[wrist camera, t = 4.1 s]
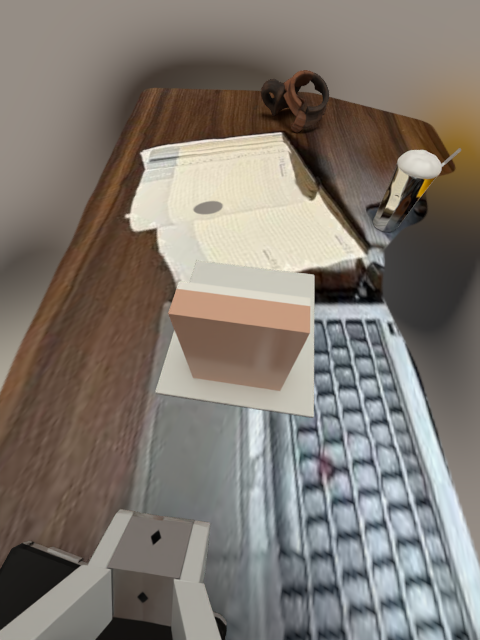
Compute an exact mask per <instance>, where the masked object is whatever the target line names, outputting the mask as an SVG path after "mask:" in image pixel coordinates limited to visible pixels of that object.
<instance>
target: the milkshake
mask: <svg viewBox="0 0 480 640" xmlns="http://www.w3.org/2000/svg"><path fill="white" fill-rule="evenodd" d="M460 151H461V149H458V150H457V151H456V152H455V153H454V154H452V155H451V156H450V157H449V158H448V159H447V160H446V161H444V162H443V163H442V164H441V163H440V161H439V160H438V158H437V157H436V156H435V155H433V154H431V153H429V152H427V151H425V150H410V151H408V152H406V153H404V154H403V155H402V156H401V157H400V158H399V159H398V161H397V164H396V166H395V169H394V171H393V174H392V176H391V179H390V181H389V184H388V187H387V190H386V192H385V194H384V197H383V199H382V201H381V203H380V206H379V208H378V210H377V212H376V215H375V217H374V220H373V224H374V226H375V228H377V229H379V230H381V231H384V232H392V231H394V230H396V229H397V228H398V226H399V225H400V224H401V222H402V221H403V220H404V218H405V217H406V216H407V214H408V213H409V212H410V210H411V209H412V208H413V206H414V205H415V204H416V203H417V201H418V200H419V199H420V197H421V196H422V195H423V193H424V192H425V191H426V190H427V188H428V187H429V186H430V184H431V183H432V182H433V181H434V180H435V178H436V177H437V176H438V175H439V174H440V172H441V167H443V166H444V165H445V164H446V163H447V162H448V161H450V160H451V159H452V158H453V157H454V156H455V155H456V154H458V153H459V152H460Z"/></svg>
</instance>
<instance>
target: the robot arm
mask: <svg viewBox="0 0 480 640" xmlns="http://www.w3.org/2000/svg"><path fill="white" fill-rule="evenodd" d="M209 535H210V523H209V522H202V521H195V520H191V519H183V518H176V517H168V516H165V517H162V516H157V515H151V514H146V513H140V512H135V511H128V510H122V509H120V510H119V511H118V512H117V513H116V514H115V516H114V518H113V520H112V521H111V523H110V525H109V527H108V529H107V530H106V532H105V534H104V536H103V538H102V539H101V541H100V543H99V545H98V547H97V548H96V550H95V552H94V554H93V556H92V557H91V559H90V561H89V563H88V565H81V566H80V567H79V568H77V569H76V570H75V571H74V572H72V573H71V574H70V575H69V576H67V577H66V578H65V579H64V580H62V581H61V582H60V583H59V584H58V585H56V586H55V587H54V588H53V589H51V590H50V591H49V592H48V593H46V594H45V595H44V596H43V597H41V598H40V599H39V600H38V601H36V602H35V603H34V604H33V605H31V606H30V607H29V608H28V609H26V610H25V611H24V612H23V613H21V614H20V615H19V616H18V617H17V618H15V619H14V620H13V621H12V622H10V623H9V624H8V625H7V626H5V627H4V628H3V629H2V630H0V640H95V639H96V638H97V637H98V636H99V635H100V633H101V632H102V631H103V630H104V629H105V627H106V626H107V625H108V624H109V623H110V622H111V620H112V617H117V618H125V619H133V620H141V621H147V622H152V623H156V624H161V625H166V626H171V630H172V636H173V640H221V637H220V633H219V630H218V627H217V624H216V620H215V617H214V614H213V611H212V607H211V604H210V601H209V598H208V594H207V591H206V588H205V584H203V582H204V576H205V570H206V562H207V554H208V545H209Z"/></svg>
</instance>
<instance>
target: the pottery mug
mask: <svg viewBox="0 0 480 640" xmlns="http://www.w3.org/2000/svg"><path fill="white" fill-rule="evenodd" d="M309 81H311V82H313V83H314V85H315V90H317V91H319V92H320V93H322V96H323V102H322V104H320V105H319V106H316V107H310V106H308V107H307V110H306V112H303V111H301V107H302V105H303V103H304V101H305V100H304V99H302V98H300V97H299V96H298V95H297V92H298V91H299V89H300V88H301V86H304V85H307V84H308V83H309ZM269 92H271V93H273V94H274V97H275V98H271V96H270V94H269ZM261 95H262V99H263V102H264V103H265V105H266V106H267V107H268V108H269V109H270V110H271V113H272V115H273V116H275V114H277V113H278V112H279V111H280V110H282V109H284V108H289V107H290V109H291V111H292V113H293V114H294V115H295V116H296V118H295V121H294V123H293V124H292V125H291V130H292V131H294V132H295V133H298V132H299V131H301V130H302V128H303V127H304V128H307V127H309V126H311V125H313V124H315V123H316V122H318V121H319V120H320V119H321V118H322V115H324V113H325V110H326V105H327V102H328V100H329V90H328V87H327V85H326V83H325V81H324V80H323V79H322V78H321V77H320V76H319V75H318V74H316V73H313V72H311V71H307V70H304V71H299V72H297V73H296V74H295V75H294V76H293V77H292V78H290V79H288V80H287V81H286V82H284V83H281V82H279V81H277V80H275V79H270V80H268V81H266V82H265V83H264V85H263V87H262V88H261Z"/></svg>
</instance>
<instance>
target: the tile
mask: <svg viewBox="0 0 480 640" xmlns="http://www.w3.org/2000/svg"><path fill="white" fill-rule="evenodd" d="M168 314H169V317H170V319H171V322H172V325H173V327H174V330H175V332H176V335H177V337H178V340H179V343H180V345H181V348H182V350H183V353H184V356H185V358H186V361H187V363H188V366H189V369H190V371H191V374H192V376H193V378H197V379H204V380H210V381H217V382H224V383H230V384H237V385H244V386H250V387H257V388H264V389H270V390H277V391H280V390H281V388H282V387H283V385H284V383H285V381H286V379H287V377H288V375H289V373H290V371H291V369H292V367H293V365H294V363H295V361H296V359H297V357H298V355H299V353H300V352H301V350H302V348H303V346H304V344H305V342H306V340H307V338H308V336H309V334H310V298H307V297H299V296H291V295H284V294H276V293H268V292H261V291H253V290H245V289H237V288H230V287H222V286H214V285H207V284H199V283H191V282H184V281H179V283H178V286H177V289H176V292H175V295H174V298H173V301H172V304H171V307H170V310H169V313H168Z"/></svg>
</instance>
